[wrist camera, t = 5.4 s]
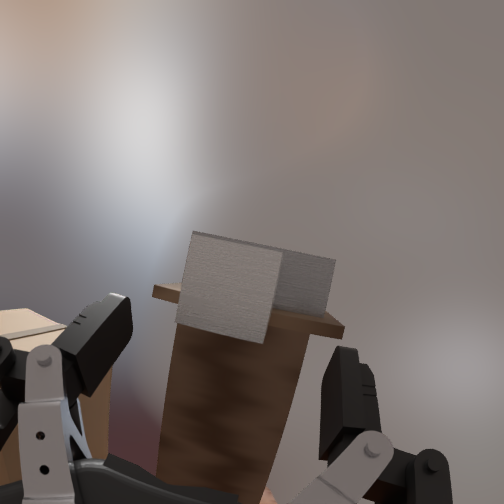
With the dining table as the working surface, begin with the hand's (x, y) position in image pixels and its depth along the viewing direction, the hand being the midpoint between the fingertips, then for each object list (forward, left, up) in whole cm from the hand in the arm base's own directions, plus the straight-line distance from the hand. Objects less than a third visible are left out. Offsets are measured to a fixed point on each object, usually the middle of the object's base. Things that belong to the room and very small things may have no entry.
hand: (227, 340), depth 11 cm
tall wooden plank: (0, +11, -32) cm, 33 cm away
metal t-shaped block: (0, +7, 0) cm, 7 cm away
